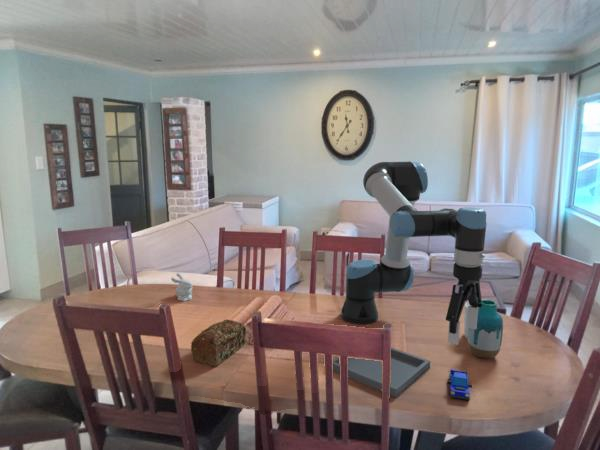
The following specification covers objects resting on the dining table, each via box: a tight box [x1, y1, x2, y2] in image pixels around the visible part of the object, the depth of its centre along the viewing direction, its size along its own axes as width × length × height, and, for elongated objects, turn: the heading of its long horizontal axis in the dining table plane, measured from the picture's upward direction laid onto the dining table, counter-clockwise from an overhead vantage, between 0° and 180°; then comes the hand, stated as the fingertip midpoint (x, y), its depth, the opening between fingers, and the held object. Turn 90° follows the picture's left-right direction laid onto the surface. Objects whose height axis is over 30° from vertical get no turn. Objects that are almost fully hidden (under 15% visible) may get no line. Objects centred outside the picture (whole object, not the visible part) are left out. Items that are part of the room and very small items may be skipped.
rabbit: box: [171, 273, 194, 302], centre depth 203 cm, size 12×9×12 cm
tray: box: [332, 347, 431, 398], centre depth 142 cm, size 24×22×2 cm
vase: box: [467, 299, 504, 359], centre depth 150 cm, size 11×11×19 cm
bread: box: [190, 319, 247, 368], centre depth 152 cm, size 19×11×10 cm, turn 155°
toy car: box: [447, 369, 473, 401], centre depth 131 cm, size 7×12×5 cm, turn 163°
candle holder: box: [463, 301, 478, 339], centre depth 165 cm, size 10×10×12 cm
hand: (462, 335), depth 128 cm, fingers open, 13 cm apart
